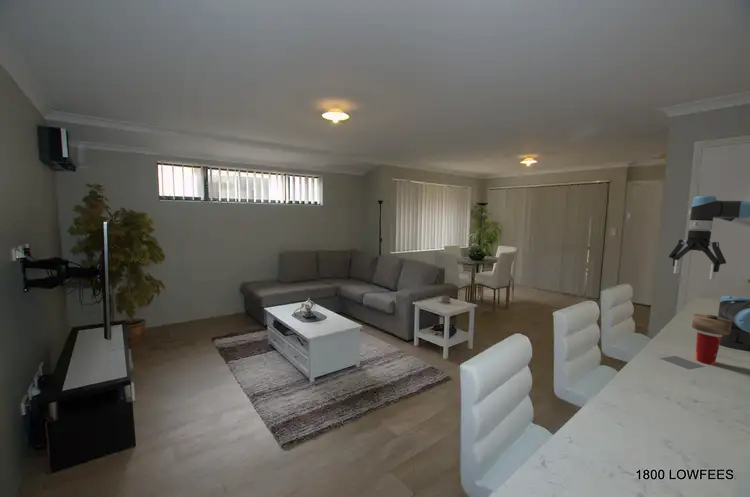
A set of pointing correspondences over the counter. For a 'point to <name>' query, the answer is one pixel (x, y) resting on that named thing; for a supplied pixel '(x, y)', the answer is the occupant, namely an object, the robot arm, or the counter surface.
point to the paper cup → (707, 347)
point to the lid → (711, 324)
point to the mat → (682, 362)
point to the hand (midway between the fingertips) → (693, 276)
